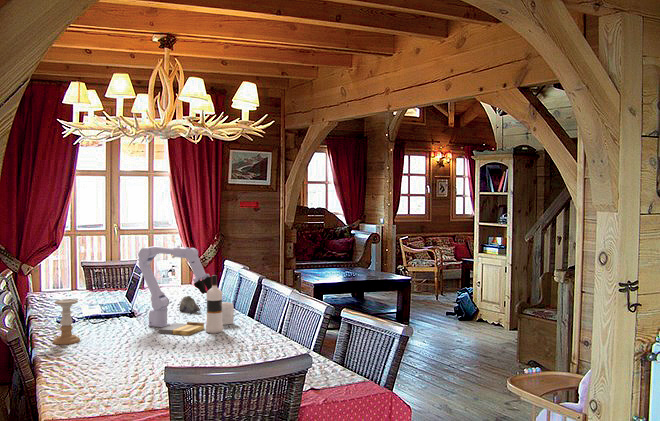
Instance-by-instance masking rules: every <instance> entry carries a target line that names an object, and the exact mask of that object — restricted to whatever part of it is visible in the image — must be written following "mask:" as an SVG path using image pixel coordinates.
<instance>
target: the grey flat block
mask: <svg viewBox="0 0 660 421" xmlns="http://www.w3.org/2000/svg"><path fill="white" fill-rule="evenodd" d="M184 325H187V323H180V322H174V323H170V325H167V326H165V327H159V329H158V333H159V334H166V335H168V334H169V335H174V334H173V330H174V329H177V328H179V327H182V326H184Z"/></svg>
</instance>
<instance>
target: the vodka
mask: <svg viewBox="0 0 660 421" xmlns="http://www.w3.org/2000/svg"><path fill="white" fill-rule="evenodd" d="M211 277H212V288H211V289H209V290H208V289H207V290H206V293H205V294H206V323H205V332H206V333H208V334H220V333H222V332H223V331H224V325H223V323H222V303H223V290H222V289H220V288H219V287H218V275H216V274H214V275H213V274H212V275H211Z"/></svg>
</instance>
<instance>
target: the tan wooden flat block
mask: <svg viewBox="0 0 660 421" xmlns="http://www.w3.org/2000/svg"><path fill="white" fill-rule="evenodd" d="M186 324H187V325H184V326H182V327H179V328H177V329H174V330H173V334H172V335H181V336H182V335H183V336H191V335H192V334H195V333H198V332H199V331H202V330H204V329H205V323H204V322H200V321H199V322H197V321H187V322H186Z"/></svg>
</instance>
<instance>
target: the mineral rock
mask: <svg viewBox="0 0 660 421" xmlns="http://www.w3.org/2000/svg"><path fill="white" fill-rule="evenodd" d="M178 311H179V312H183V313H197V312H201V307H200V306H199V305H198V304H197V302H196V301H195V299H194V298H193V297H191V296H190V295H187V296H184V297H183V298H182V299H181V301H180V304H179V310H178Z"/></svg>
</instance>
